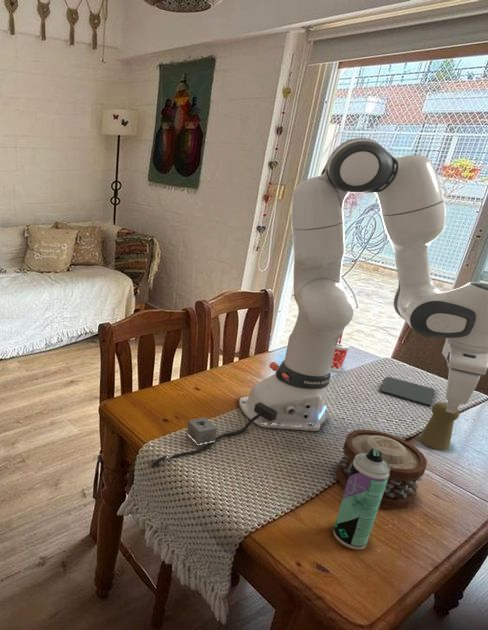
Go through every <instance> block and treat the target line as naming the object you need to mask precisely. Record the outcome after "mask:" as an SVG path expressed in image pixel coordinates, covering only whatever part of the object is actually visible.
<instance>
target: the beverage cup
mask: <svg viewBox="0 0 488 630" xmlns="http://www.w3.org/2000/svg"><path fill="white" fill-rule="evenodd" d="M343 334H344V332H343V333H342V334H341V336H340V338H339V340H338V343H337V345H336V348H335V352H334V356H333V360H332V364H331V368H330V370H331V372H341V371H342V368H343V365H344V362H345V361H346V360H345V359H346V358H347V357H346V356H347V354H348V351H349V350H350V347H351V345H350V344H349V343H347V342H344V341H342V338H343Z"/></svg>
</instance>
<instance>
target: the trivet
mask: <svg viewBox="0 0 488 630" xmlns="http://www.w3.org/2000/svg"><path fill="white" fill-rule="evenodd" d="M434 391H435V389H434V388H432V387H429V386H425V385H422V384H417V383H414V382H409V381H406V380H402V379H400V378H395V377H392V376H386V377H385V380H384V382H383V385H382V388H381V389H380V393H381V394H385V395H389V396H392V397H396V398H400V399H402V400H406V401H410V402H413V403H416V404H420V405H424V406H426V407H431V404H432V400H433V395H434Z"/></svg>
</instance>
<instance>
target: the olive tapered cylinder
mask: <svg viewBox="0 0 488 630" xmlns="http://www.w3.org/2000/svg"><path fill="white" fill-rule="evenodd" d="M447 403H448V402H445V401H438V402H435V403H434V404H433V405H432V407H431V413H432V415H431V416H430V418H429V420H428V422H427V424H426V425H425V427H424V428H423V430H422V432H421V433H420V435H419V441H420V443H422V444H424V445H425V446H427V447H429V448H431V449H435V450H437V451H447V450H449V449H450V445H451V440H452V436H453V435H452V434H453V429H454V423H455V421H456V420H458V418H459V417H460V414H461V412H460V409H459V407H458V408H457V410H456V413H454V414H453V413H449V412H447V411H446V406H447Z"/></svg>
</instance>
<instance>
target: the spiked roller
mask: <svg viewBox="0 0 488 630" xmlns="http://www.w3.org/2000/svg"><path fill="white" fill-rule="evenodd" d="M344 440H345V441H344V444H343V447H341V449H342V450H341V451H342V453H343V454H342V455H341V456H342V457H341V458H340V461H339V463H338V466H337V469H336V477H337V480H338V482H339V483H340V484H341V486H342V487H343V488H344V489H345V488H346V485H347V481H348V478H349V474H350V471H351V467H352V464H353V460H354V459H355V456H356V455H358V454H362V453H364V454H366V453H369V452H370V450H371V449H376V450H378V451H380V452H381V458H382V459H383V460H384V461H385V462H387V463H388V465H389V466H390V475H389V478H388V481H387V484H386V487H385V490H384V493H383V496H382V499H381V502H380V505H379V508H382V509H390V510H401V509H407V508H409V507H411V506H412V505H413V504H414V501H415V500H416V496H417V491H418V489H419V488H420V486H419V485H418V483H417V482H418V481H422V482H423V479H422V478H421V477H423V476H424V474H425V472H426V469H427V466H428V465H427V464H428V463H427V462H428V460H427V458H426V457H425V455H424V453H423V452H422V451H421V450H419V449H418V448H417V447H416V446H415V445H413V444H411V443H410V442H408V441H406V440H405V439H403V438H400V437H398V436H396V435H393V434H390V433H387V432H382V431H379V430H373V429H372V430H371V429H357V430H353V431H351V432H349V433H348V434H347V435H346V437H345V439H344Z"/></svg>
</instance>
